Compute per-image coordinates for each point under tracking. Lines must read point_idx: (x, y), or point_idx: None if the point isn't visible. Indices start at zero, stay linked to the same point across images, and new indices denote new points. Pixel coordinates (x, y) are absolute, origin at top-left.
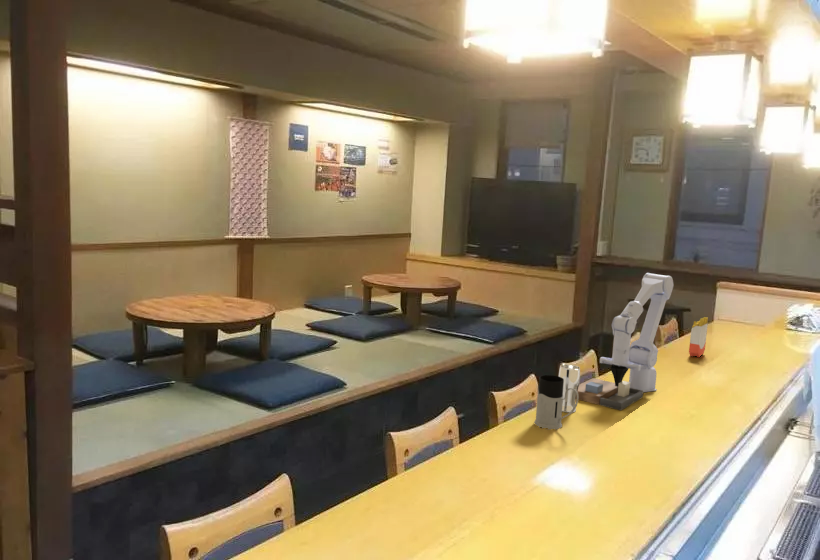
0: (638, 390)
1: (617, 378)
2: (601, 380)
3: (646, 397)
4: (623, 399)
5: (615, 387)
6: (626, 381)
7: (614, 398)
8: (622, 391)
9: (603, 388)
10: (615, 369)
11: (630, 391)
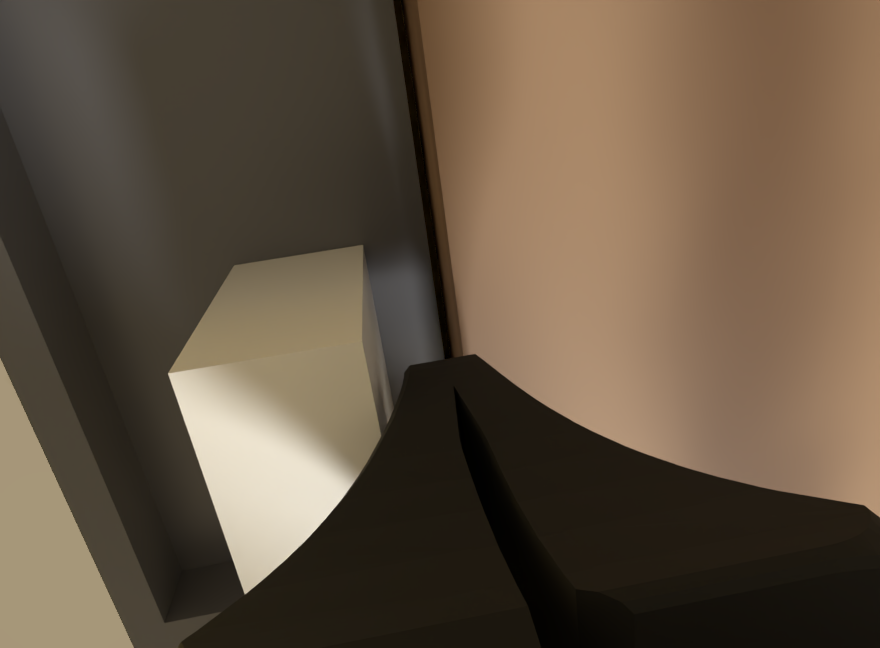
0: (194, 615)
1: (452, 436)
2: None
3: None
4: (134, 112)
5: None
6: None
7: (277, 7)
8: (263, 293)
9: (624, 100)
10: (610, 578)
11: None
